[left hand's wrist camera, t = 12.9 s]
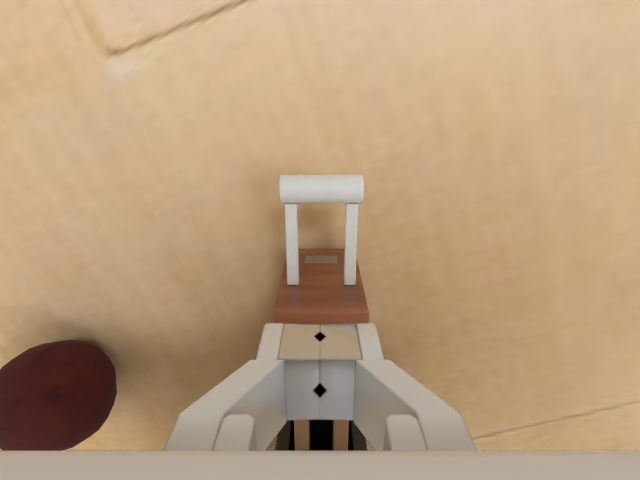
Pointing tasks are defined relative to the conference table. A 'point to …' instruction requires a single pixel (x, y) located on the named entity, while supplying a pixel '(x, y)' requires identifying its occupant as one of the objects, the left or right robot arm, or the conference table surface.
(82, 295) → the conference table surface
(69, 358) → the dark red rounded ball
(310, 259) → the drawer
